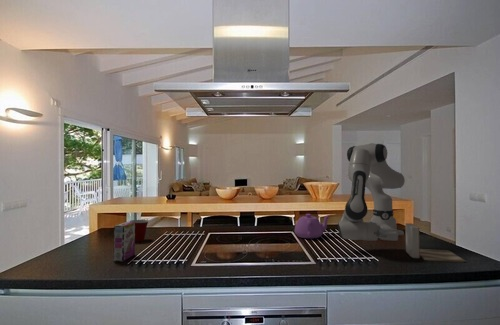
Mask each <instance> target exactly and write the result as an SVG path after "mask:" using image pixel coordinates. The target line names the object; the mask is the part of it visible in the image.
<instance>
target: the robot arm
mask: <svg viewBox="0 0 500 325" xmlns="http://www.w3.org/2000/svg"><path fill="white" fill-rule="evenodd" d="M346 157H347V160H348V162H349V163H348V164H349V165H348V169H347V170H348V174H347V175H348V179H349V180H350V181H351V191H350V196H349V199H348V200H347V202H346V204H345V208H344V211H343V214H342V216H341V218H340V220H339V222H338V223H337V230H338V234H339V236H340V237H341V238H342V239H345V240H350V241H351V240H352V241H353V240H354V241H358V240H359V241H360V240H363V241H370V242H371V241H374V242H376V241H378V239H380V240H382V241H393V242H394V241H395V242H396V241H399V236H404V235H405V232H404V230H402V229H398V228H397V219H396V217H394V209H393V198H392V197H391V196H390V195H389V194H387V193H385V192H384V189H386V190H387V189H388V190H389V189H390V190H394V189H401V188H402V187H403V186H404V185H405V182H406V181H405V176H404V175H403V173H401V172H399V171H397V170H395V169H393V168H392V167H390V165H388V162H387V158H388V149H387V147H386V145H384V144H382V143H372V142H371V143H367V144H361V145H354V146H350V147H349V148H348V149H347V151H346ZM366 188H367V190H369V192H370V194H371V195H372V200H373V211H372V218H371V219H369V220H368V221H366V222H365V221H364V217H366V216H367V214H368V205H367V203H366V198H365V195H366V194H365V193H366Z"/></svg>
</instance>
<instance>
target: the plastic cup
mask: <svg viewBox="0 0 500 325" xmlns="http://www.w3.org/2000/svg"><path fill="white" fill-rule="evenodd" d="M129 222H135V242H136V243H139V242H144V241H145V238H146V234H147V226H148V224H149V222H150V220H148V219H147V220H146V219H131V220H130V221H129Z"/></svg>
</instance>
